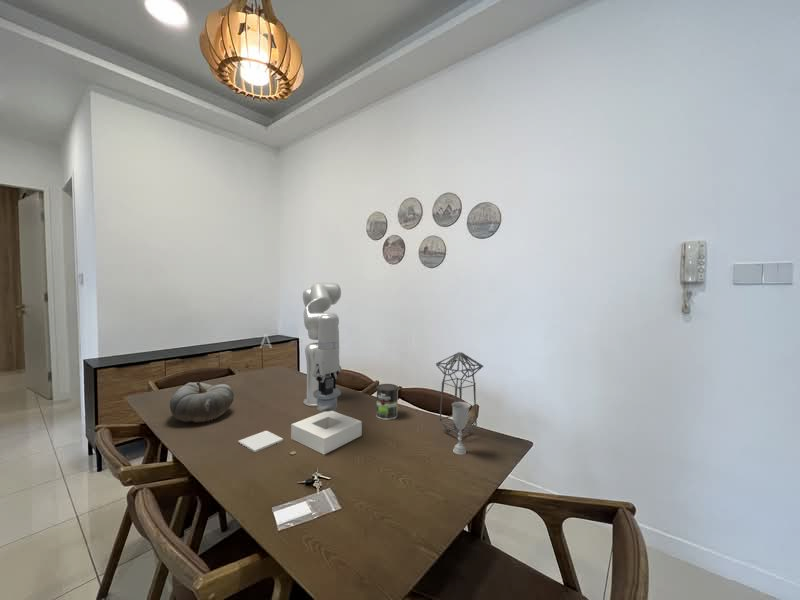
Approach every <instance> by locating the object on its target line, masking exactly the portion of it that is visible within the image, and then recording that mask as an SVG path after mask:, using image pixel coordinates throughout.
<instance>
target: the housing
mask: <svg viewBox="0 0 800 600" xmlns="http://www.w3.org/2000/svg"><path fill="white" fill-rule="evenodd" d="M362 424H363V421H362V420H359V419H356V418H354V417H351V416H348V415H345V414H342V413H340V412H337V411H335V410H333V411H328V412H323V411H321V412H320V413H317V414H314V415H312V416H309V417H307V418H303V419H301V420H299V421H297V422H293V423H291V424H290V428H291V429H290V439H291V440H293V441H294V442H297V443H299V444H301V445H303V446H305V447H306V448H310V449H312V450H314V451H316V452H318V453H320V454H322V455H326V454H328V453H331V452H333V451H334V450H336V449H339V448H340V447H342V446H344V445H346V444H348V443H350V442H351V441H354V440H357V438H359V437H361V436H362V433H363V432H362V430H363V429H362V427H363V425H362Z"/></svg>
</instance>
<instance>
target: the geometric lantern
mask: <svg viewBox="0 0 800 600" xmlns="http://www.w3.org/2000/svg"><path fill="white" fill-rule="evenodd" d="M446 360H448V361H447V362H444V361H446ZM456 363H457V365H456V369H453V368H454V365H455V364H456ZM460 363H461V370H460ZM473 363H474V364H473ZM444 365H445V366H444ZM449 365H450V366H449ZM467 365H468V367H467ZM435 366H436V367H437V368H438V369H439V370H440V371H441V372H442V374H443V375H444V376H443V379H442V381H441V392H440V393H441V394H440V405H439V406H440V407H439V420H438V422H439V423H440V424H441V425H442V426H444V428H445V433H447V434H449V435H451V436H453V437H455V438H457V439H458V438H459V435H458V433H459V429H457V428H456V425H455V423H454V422H453V423H451V424H446V423H445V422H443V420H446V419H448V418H453V414H451V415H449V416H446V417H442V410H443V408H442V407H443V399H444V387H445V385H447V386H450V387H453V388H454V402H457V396H458V389H459V402H463V400H462V398H463V397H462V395H463V393H462V391H463V390H462V389H464V388H465V389H466V388H469V387H473V401H474V402H473V403H474V404H473V405H474V406H473V407H474V420H473V419H471V418H469V419H468V421H471V422H472V425H469V426H468V425H466V426H465V427H464V429H462V430H461V432H462V433H465V432H466V433H467V434H465V435H463V436H461V438H462V439H463V438H464V437H467V436H469V435H471V430H472V429H473V428H475V427H477V425H478V423H477V422H478V420H477V401H476V400H477V395H476V384H477V383H476V381H475V374H476V373H477V372H479V371H480V370H481V369H482V368H484V365H483V364H481V363H480V362H478V361H476V360H475V359H473V358H472V357H470V356H469V355H467V354H465V353H464V352H460V351H458V352H456V353H455V354H453V355H449V357H446V358H444V359H442V360H440V361H438V362H436V363H435ZM448 366H449V367H448ZM464 368H465V369H464ZM450 371H451V373H450ZM457 372H461V373H462V374H463V375H462V377H461V378H459V377H457V375H456V374H455V373H457ZM470 372H471V374H470ZM452 375H454V376H455V378H453V377H452ZM447 376H449V377H450V379H447V380H446V377H447ZM464 377H465V378H464ZM470 377H472V381H469V380H467V379H468V378H470ZM454 380H456V382H455V381H454ZM449 381H452V383H453V385H452V384H449V383H446V382H449ZM458 381H460V385H459V386H458V383H459V382H458ZM464 382H468V383H470V384H471V385H466V386H462V385H463V384H464ZM452 425H453V427H452ZM449 430H450V431H451V432H454V433H456V434H457V435H454V434H453V433H451V432H449Z"/></svg>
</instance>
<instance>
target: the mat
mask: <svg viewBox="0 0 800 600" xmlns="http://www.w3.org/2000/svg"><path fill="white" fill-rule="evenodd" d="M283 441H284V438H283V437H280V436H279V435H276V434H275V433H272V432H270V431H268V430H264V431H261V432H259V433H255V434H252V435H250V436H247V437H244V438H242V439H240V440H237V443H238V442H239V443H240V445H241V444H242V445H241V446H243V447H244V446H245V447H244V448H246V447H247V449H248V450H249V451H251V452H253V453H257V452H260V451H262V450H264V449H267V448H269V447H271V446H274V445H276V443H277V444H279V443H281V442H283ZM239 443H238V444H239Z"/></svg>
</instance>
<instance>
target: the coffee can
mask: <svg viewBox="0 0 800 600" xmlns="http://www.w3.org/2000/svg"><path fill="white" fill-rule="evenodd" d="M398 396H399V386H398V385H397V384H393V383H381V384H379V385H376V415H375V416H376V418H377V419H380V420H383V421H385V420H386V421H390V420H395V419H396V418H397V417H398V405H399V402H398V398H399V397H398Z"/></svg>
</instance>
